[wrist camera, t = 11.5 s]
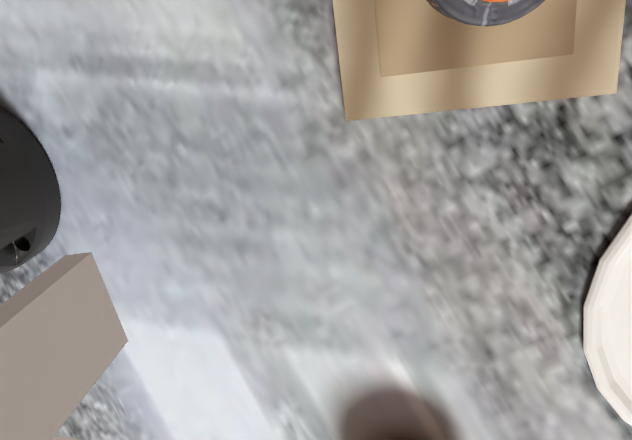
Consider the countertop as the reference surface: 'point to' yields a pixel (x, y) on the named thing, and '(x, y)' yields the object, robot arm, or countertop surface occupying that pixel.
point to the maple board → (472, 56)
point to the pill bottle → (484, 10)
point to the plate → (612, 323)
